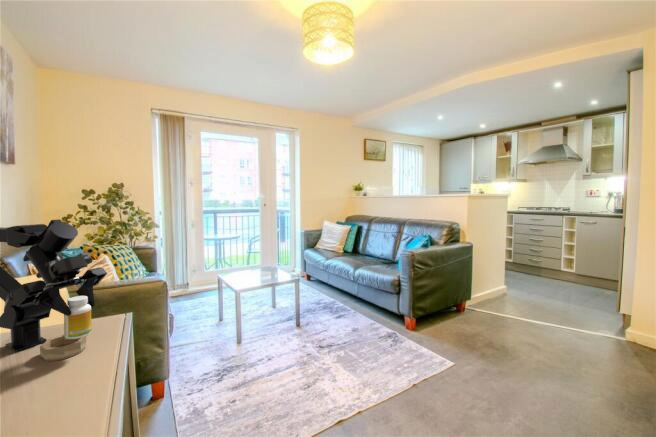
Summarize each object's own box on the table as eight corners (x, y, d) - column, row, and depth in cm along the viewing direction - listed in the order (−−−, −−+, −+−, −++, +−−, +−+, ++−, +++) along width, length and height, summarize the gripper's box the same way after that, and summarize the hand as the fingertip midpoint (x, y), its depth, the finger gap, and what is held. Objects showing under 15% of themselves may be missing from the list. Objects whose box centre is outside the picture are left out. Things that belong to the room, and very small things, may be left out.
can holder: (35, 355, 76) (35, 344, 76) (74, 341, 84) (74, 331, 84) (52, 364, 73) (51, 352, 72) (91, 348, 80) (91, 337, 80)
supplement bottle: (96, 332, 79) (96, 296, 78) (74, 341, 73) (74, 303, 73) (81, 328, 80) (81, 293, 79) (58, 337, 75) (58, 299, 74)
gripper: (19, 249, 67) (56, 304, 65) (102, 239, 85) (132, 281, 83) (-3, 279, 70) (31, 333, 68) (81, 263, 88) (110, 305, 86)
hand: (82, 310), depth 76 cm, fingers closed on supplement bottle, 5 cm apart
